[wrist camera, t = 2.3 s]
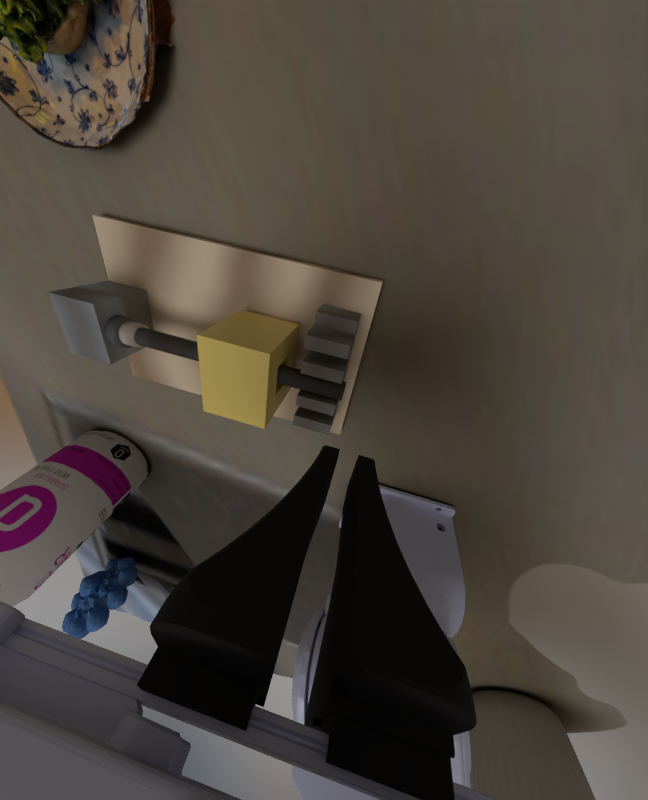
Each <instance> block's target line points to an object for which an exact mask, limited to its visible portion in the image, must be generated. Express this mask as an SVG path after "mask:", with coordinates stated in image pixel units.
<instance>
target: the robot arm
mask: <svg viewBox="0 0 648 800" xmlns="http://www.w3.org/2000/svg"><path fill="white" fill-rule="evenodd" d="M339 450H340V449H337V448H333V447H330V446H323V447H322V449H321V452H320V453H319V455H318V457H317V458H316V460H315V461H314V463H313V464H312V465H311V467H310V468H309V469H308V471H307V472H306V473H305V474H304V476H303V477H302V478H301V479H300V481H299V482H298V483H297V484H296V485H295V486H294V487H293V488H292V490H291V491H290V492H289V493H288V494H287V495H286V496H285V497H284V498H283V499H282V500H281V501H280V502H279V503H278V504H277V505H276V506H275V507H274V508H273V509H272V510H271V511H269V512H268V513H267V514H266V515H265V516H264V517H263V518H261V519H260V520H259V521H258V522H257V523H256V524H254V525H253V526H252V527H251V528H250V529H248V530H247V531H246V532H244V533H243V534H242V535H240V536H239V537H238V538H236V539H235V540H234V541H232V542H231V543H230V544H228V545H227V546H226V547H224V548H223V549H221V550H220V551H219V552H217V553H216V554H214V555H213V556H211V557H209V558H208V559H206V560H205V561H203V562H202V563H200V564H199V565H197V566H196V567H194V568H193V569H191V570H190V571H189V572H188V573H187V574H186V575H185V577H184V578H183V579H182V580H181V581H180V582H179V583H178V585H177V586H176V587H175V588H174V590H173V591H172V592H171V594H170V595H169V596H168V598H167V599H166V601H165V602H164V604H163V605H162V607H161V609H160V610H159V612H158V613H157V615H156V617H155V618H154V620H153V622H152V623H151V625H150V630H151V635H152V636H153V638H154V640H155V642H156V644H157V646H158V648H157V650H156V652H155V653H154V655H153V657H152V659H151V660H150V662H149V664H148V665H146V664H144V663H141V662H138V661H136V660H133V659H131V658H128V657H126V656H123V655H120V654H118V653H115V652H113V651H110V650H107V649H104V648H102V647H99V646H97V645H94V644H92V643H89V642H86V641H84V640H81V639H79V638H76V637H73V636H71V635H68V634H65V633H63V632H60V631H58V630H55V629H52V628H50V627H47V626H45V625H42V624H39V623H37V622H34V621H32V620H29V619H26V618H25V615H24V614H22V613H21V612H20V611H19V610H17V609H16V608H14V607H12V606H10V605H8V604H6V603H3V602H1V601H0V800H241V799H238V798H236V797H233V796H231V795H229V794H226V793H224V792H221V791H219V790H216V789H214V788H212V787H209V786H207V785H204V784H202V783H199V782H197V781H195V780H192V779H190V778H187V777H185V776H182V775H181V773H182V769H183V766H184V763H185V761H186V758H187V756H188V753H189V751H190V748H191V747H190V743H189V742H187V741H186V740H184V739H182V738H181V737H180V734H179V733H178V732H175V731H173V730H171V729H169V728H166V727H164V726H162V725H160V724H158V723H156V722H153V721H151V720H149V719H147V718H145V717H142V713H143V710H142V706H141V705H143V706H145V707H148V708H150V709H153V710H155V711H158V712H161V713H163V714H166V715H168V716H170V717H173V718H176V719H178V720H181V721H183V722H186V723H188V724H191V725H193V726H196V727H198V728H201V729H203V730H206V731H208V732H211V733H213V734H216V735H218V736H221V737H224V738H226V739H228V740H231V741H233V742H236V743H238V744H241V745H244V746H246V747H249V748H251V749H253V750H256V751H259V752H261V753H264V754H266V755H269V756H271V757H274V758H276V759H279V760H281V761H284V762H286V763H289V764H291V765H293V768H292V779H293V783H294V785H295V787H296V790H297V792H298V794H299V796H300V798H301V800H499V799H496V798H494V797H491V796H489V795H486V794H483V793H481V792H478V791H476V790H473V789H471V783H470V773H471V749H470V737H469V731H470V730H472V729H473V728H474V727H475V726H476V723H477V718H476V712H475V706H474V700H473V696H472V692H471V688H470V684H469V680H468V676H467V672H466V668H465V666H464V664H463V663H462V661H461V660H460V658H459V656H458V653H457V649H456V646H455V644H454V642H453V641H452V640H451V639H450V638H452V637H454V636H455V635H456V633H457V632H458V630H459V628H460V626H461V624H462V621H463V617H464V610H465V584H464V578H463V572H462V567H461V562H460V557H459V551H458V546H457V541H456V536H455V531H454V525H453V520H452V517H453V516H454V515H455V513H456V512H455V508H454V507H452V506H449V505H446V504H442V503H439V502H435V501H432V500H429V499H425V498H422V497H419V496H415V495H412V494H409V493H405V492H402V491H399V490H395V489H392V488H389V487H385V486H382V485H379V483H378V478H377V473H376V468H375V461H374V460H373V459H371V458H367V457H364V456H361V455H359V456H358V459H357V462H356V464H355V467H354V470H353V473H352V476H351V479H350V481H349V484H348V488H347V492H346V497H345V502H344V506H343V513H342V516H341V519H340V522H339V527H340V528H341V531H340V540H339V549H338V559H337V566H336V573H335V578H334V583H333V589H332V594H331V595H329V596H328V598H327V603H326V609H325V610H323V609H319V610H317V611H316V612H315V614H314V615H313V616H312V617H311V618H310V620H309V621H308V622H307V624H306V626H305V628H304V631H303V634H302V637H301V640H300V644H299V648H298V652H297V657H296V662H295V668H294V676H293V688H292V707H293V714H294V721H293V720H290V719H287V718H285V717H282V716H280V715H277V714H274V713H272V712H269V711H266V710H264V709H261V708H259V707H256V706H255V704H258V705H260V706H264V704H265V700H266V696H267V693H268V689H269V685H270V682H271V678H272V675H273V671H274V668H275V664H276V661H277V657H278V653H279V650H280V646H281V643H282V639H283V635H284V632H285V628H286V624H287V621H288V617H289V613H290V610H291V606H292V602H293V599H294V595H295V592H296V588H297V584H298V581H299V577H300V573H301V570H302V566H303V562H304V559H305V556H306V553H307V550H308V547H309V545H310V542H311V539H312V536H313V534H314V531H315V528H316V525H317V523H318V520H319V517H320V514H321V512H322V509H323V506H324V503H325V500H326V497H327V493H328V490H329V487H330V483H331V480H332V476H333V473H334V470H335V466H336V463H337V459H338V454H339Z"/></svg>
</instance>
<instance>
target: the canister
mask: <svg viewBox="0 0 648 800" xmlns="http://www.w3.org/2000/svg"><path fill="white" fill-rule="evenodd" d="M472 696H473V700H474V706H475V712H476V718H477V723H476V726H475V727H474V728H473V729H472V730H470V731H469V737H470V749H471V773H470V783H471V789H473V790H476V791H478V792H481V793H483V794H486V795H489V796H491V797H494V798H496V799H499V800H595V797H594V795H593V793H592V790H591V788H590V786H589V783H588V781H587V778H586V776H585V774H584V772H583V769H582V767H581V765H580V763H579V760H578V758H577V755H576V753H575V751H574V749H573V746H572V744H571V742H570V739H569V738H568V735H567V733H566V731H565V729H564V727H563V725H562V724H561V722H560V720H559V719H558V717H557V716H556V715H555V714H554V713H553V711H552V710H551V709H550V708H548V707H547V706H546V705H545V704H543V703H541V702H539V701H537V700H535V699H533V698H530V697H528V696H524V695H521V694H518V693H513V692H508V691H502V690H481V691H477V692H475V693H473V694H472Z"/></svg>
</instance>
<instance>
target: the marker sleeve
mask: <svg viewBox="0 0 648 800" xmlns="http://www.w3.org/2000/svg"><path fill="white" fill-rule="evenodd" d="M298 328H299V324H295V323H291V322H287V321H283V320H279V319H275V318H271V317H268V316H264V315H260V314H256V313H252V312H248V311H244V310H241V311H239V312H237V313H235V314H233V315H231V316H230V317H228V318H226V319H224V320H222V321H220V322H219V323H217V324H215V325H213V326H211V327H210V328H208V329H206V330H204V331H202V332H200V333H199V334H197V345H198V356H199V367H200V378H201V389H202V399H203V410H204V411H205V412H209V413H212V414H216V415H219V416H222V417H226V418H229V419H233V420H236V421H240V422H243V423H246V424H250V425H253V426H257V427H260V428H264V429H265V427H266V426H267V424H268V423H269V421H270V420H271V418H272V417H273V415H274V414H275V412H276V410H277V409H278V407H279V406H280V404H281V403H282V401H283V400H284V398H285V397H286V395H287V393H288V392H289V390H290V389H291V387H290V386H286V385H282V384H279V383H277V374H278V367H279V366H280V365H281V364H282V365H285V366H289V367H294V360H295V352H296V344H297V336H298Z"/></svg>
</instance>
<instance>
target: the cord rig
mask: <svg viewBox="0 0 648 800" xmlns="http://www.w3.org/2000/svg"><path fill="white" fill-rule="evenodd" d="M92 216H93V220H94V224H95V228H96V231H97V235H98V239H99V243H100V247H101V251H102V255H103V259H104V263H105V267H106V271H107V275H108V279H109V281H104V282H99V283H94V284H88V285H83V286H78V287H73V288H67V289H62V290H57V291H52V292H48V293H49V296H50V298H51V301H52V304H53V306H54V309H55V312H56V314H57V317H58V320H59V322H60V325H61V327H62V330H63V333H64V335H65V338H66V341H67V343H68V346H69V348H70V351H71V353H73V354H77V355H80V356H84V357H87V358H91V359H94V360H98V361H101V362H105V363H108V364H112V363H114V362H116V361H118V360H120V359H122V358H125V357H127V356H128V358H129V362H130V366H131V370H132V374H133V376H136V377H139V378H143V379H146V380H150V381H153V382H157V383H160V384H164V385H167V386H171V387H174V388H178V389H181V390H185V391H188V392H192V393H195V394H199V395H202V389H201V378H200V367H199V356H198V345H197V334H199V333H200V332H202V331H204V330H206V329H208V328H210V327H211V326H213V325H215V324H217V323H219V322H220V321H222V320H224V319H226V318H228V317H230V316H231V315H233V314H235V313H237V312H239V311H241V310H244V311H248V312H252V313H256V314H260V315H264V316H268V317H271V318H275V319H279V320H283V321H287V322H291V323H295V324H299V328H298V336H297V344H296V352H295V360H294V367H289V366H285V365H282V364H281V365H280V366H279V367H278V374H277V383H279V384H282V385H286V386H290V387H291V389H290V390H289V392H288V393H287V395H286V397H285V398H284V400H283V401H282V403H281V404H280V406H279V407H278V409H277V410H276V412H275V414H274V415H273V416H276V417H279V418H283V419H286V420H290V421H293V425H297V426H300V427H304V428H307V429H311V430H314V431H317V432H321V433H324V434H328V435H329V432H332V433H335V434H339V435H340V433H341V429H342V426H343V422H344V418H345V415H346V411H347V408H348V404H349V401H350V397H351V393H352V390H353V386H354V383H355V379H356V376H357V372H358V368H359V365H360V361H361V358H362V354H363V351H364V347H365V343H366V340H367V336H368V333H369V329H370V326H371V322H372V318H373V315H374V311H375V308H376V304H377V301H378V297H379V293H380V290H381V286H382V283H383V280H379V279H375V278H371V277H366V276H362V275H358V274H353V273H349V272H345V271H341V270H336V269H332V268H328V267H323V266H319V265H315V264H311V263H306V262H302V261H298V260H293V259H289V258H285V257H281V256H276V255H272V254H268V253H263V252H259V251H255V250H251V249H246V248H242V247H238V246H233V245H229V244H225V243H221V242H216V241H212V240H208V239H203V238H199V237H195V236H191V235H186V234H182V233H178V232H173V231H169V230H165V229H161V228H156V227H152V226H148V225H143V224H139V223H135V222H131V221H126V220H122V219H118V218H113V217H109V216H105V215H92Z"/></svg>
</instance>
